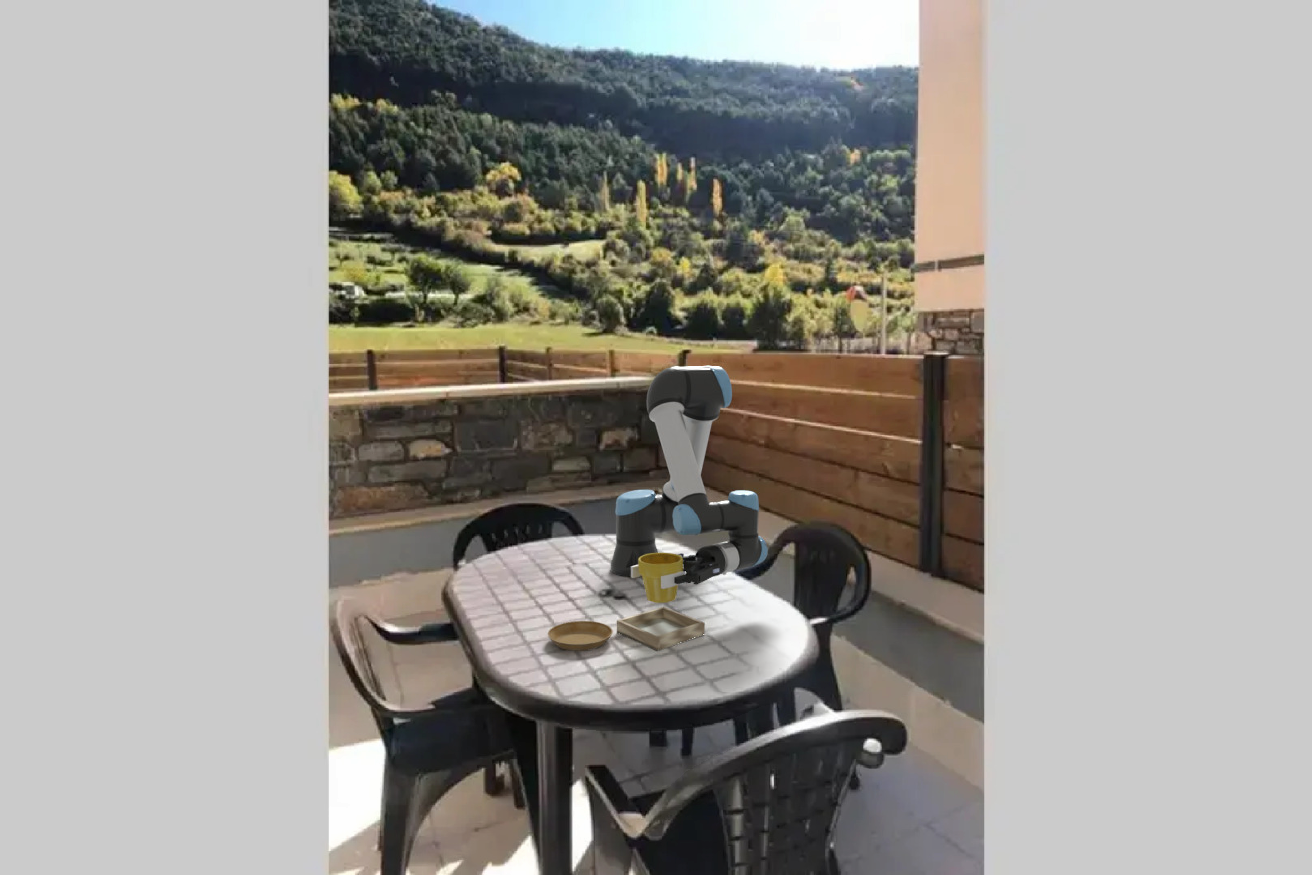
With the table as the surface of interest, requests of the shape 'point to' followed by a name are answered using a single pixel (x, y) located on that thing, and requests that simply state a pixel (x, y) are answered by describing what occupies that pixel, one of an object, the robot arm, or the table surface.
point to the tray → (660, 628)
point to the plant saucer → (580, 635)
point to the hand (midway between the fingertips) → (646, 577)
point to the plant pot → (659, 575)
